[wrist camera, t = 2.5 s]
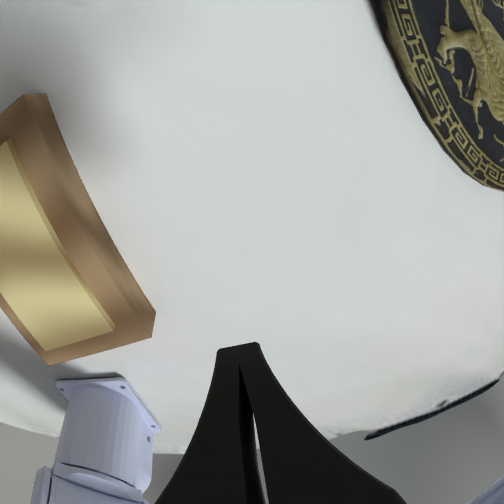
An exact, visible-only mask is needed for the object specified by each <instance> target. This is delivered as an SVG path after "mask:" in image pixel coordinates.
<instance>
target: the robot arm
mask: <svg viewBox="0 0 504 504" xmlns="http://www.w3.org/2000/svg"><path fill="white" fill-rule="evenodd" d="M55 386H56V387H57V389H58V390H59V391H60V392H61V393H62V394H63V396H64V397H65V398H66V399H67V400H68V401H69V404H68V407H67V411H66V414H65V418H64V422H63V426H62V430H61V434H60V438H59V442H58V447H57V451H56V455H55V460H54V465H53V467H52V468H51V469H50V468H48V467H46V466H44V467H43V468H40V469H38V470H37V473H36V477H35V481H34V486H33V492H32V498H31V504H149V502H148V501H147V500H144V499H142V493H143V492H144V491H145V490H146V489H147V487H148V486H149V484H150V481H151V477H152V451H153V433H160V432H161V431H162V428H161V427H160V426H159V424H158V423H157V422H156V421H155V419H154V418H153V417H152V416H151V414H150V413H149V412H148V410H147V409H146V408H145V406H144V405H143V404H142V402H141V401H140V400H139V398H138V397H137V396H136V394H135V393H134V391H133V390H132V389H131V387H130V386H129V384H128V383H127V382H126V380H125V379H123V378H121V377H116V378H102V379H85V380H58V381H56V382H55ZM253 414H254V418H255V423H256V427H257V434H258V440H259V446H260V452H261V458H262V464H263V470H264V476H265V482H266V488H267V495H268V500H269V504H406V502H405V501H404V500H403V498H402V497H401V496H400V495H399V494H398V493H397V492H396V491H395V490H394V489H393V488H391V487H389V486H388V485H386V484H384V483H383V482H381V481H379V480H378V479H376V478H375V477H373V476H372V475H370V474H369V473H367V472H366V471H365V470H363V469H362V468H361V467H359V466H358V465H356V464H355V463H353V462H352V461H351V460H350V459H349V458H348V457H346V456H345V455H344V454H343V453H342V452H340V451H339V450H338V449H337V448H336V447H334V446H333V445H332V444H331V443H330V442H329V441H328V440H327V439H326V438H325V437H324V436H323V435H322V434H321V433H320V432H319V431H318V430H317V429H316V428H315V427H314V426H313V425H312V424H311V423H310V422H309V421H308V420H307V418H306V417H305V416H304V415H303V414H302V413H301V412H300V410H299V409H298V408H297V407H296V405H295V404H294V403H293V402H292V400H291V399H290V398H289V396H288V395H287V394H286V392H285V391H284V389H283V388H282V386H281V385H280V383H279V382H278V380H277V379H276V377H275V376H274V374H273V373H272V371H271V369H270V367H269V365H268V364H267V362H266V360H265V358H264V355H263V353H262V351H261V348H260V345H259V343H257V342H252V343H247V344H242V345H237V346H232V347H227V348H221V349H219V350H218V351H217V355H216V362H215V368H214V372H213V377H212V381H211V385H210V388H209V392H208V395H207V399H206V402H205V405H204V408H203V411H202V414H201V417H200V419H199V422H198V425H197V428H196V430H195V432H194V435H193V437H192V439H191V442H190V444H189V446H188V448H187V450H186V452H185V454H184V457H183V458H182V460H181V462H180V464H179V466H178V468H177V470H176V471H175V473H174V475H173V477H172V478H171V480H170V481H169V483H168V485H167V486H166V488H165V489H164V491H163V492H162V494H161V495H160V497H159V498H158V499H157V501H156V503H155V504H266V503H265V499H264V494H263V490H262V485H261V480H260V475H259V470H258V463H257V454H256V442H255V430H254V419H253ZM467 504H504V475H503V476H502V477H501V478H500V479H498V480H497V481H496V482H495V483H494V484H492V486H491V487H490V488H488V489H487V490H486V491H484V492H483V493H481V494H480V495H479V496H477V497H476V498H474V499H473V500H471V501H470V502H468V503H467Z"/></svg>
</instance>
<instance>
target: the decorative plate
mask: <svg viewBox="0 0 504 504" xmlns="http://www.w3.org/2000/svg"><path fill="white" fill-rule="evenodd" d="M370 1H371V4H372V7H373V9H374V12H375V15H376V18H377V21H378V24H379V27H380V30H381V33H382V36H383V39H384V42H385V44H386V46H387V48H388V50H389V52H390V55H391V57H392V59H393V61H394V64H395V66H396V68H397V71H398V73H399V75H400V78H401V80H402V83H403V84H404V86H405V88H406V90H407V91H408V93H409V95H410V97H411V99H412V100H413V102H414V104H415V106H416V108H417V110H418V112H419V114H420V116H421V118H422V120H423V121H424V123H425V124H426V125H427V127H428V128H429V130H430V131H431V133H432V134H433V136H434V137H435V138H436V140H437V141H438V143H439V144H440V146H441V148H442V149H443V151H444V152H445V153H446V154H447V155H448V156H449V157H450V158H451V159H452V160H453V161H454V162H455V163H456V164H457V166H458V167H459V168H460V169H461V170H462V171H463V172H464V173H465V174H467V175H468V176H470V177H471V178H473V179H474V180H476V181H477V182H479V183H480V184H481V185H484V186H487V187H490V188H493V189H496V190H500V191H503V192H504V0H370Z"/></svg>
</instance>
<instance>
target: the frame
mask: <svg viewBox="0 0 504 504" xmlns="http://www.w3.org/2000/svg"><path fill="white" fill-rule="evenodd" d="M0 307H1V309H2V310H3V311H4V313H5V314H6V315H7V317H8V318H9V319H10V321H11V322H12V323H13V325H14V326H15V327H16V329H17V330H18V331H19V332H20V334H21V335H22V336H23V337H24V338H25V340H26V341H27V342H28V343H29V344H30V346H31V347H32V348H33V349H34V350H35V351H36V353H37V354H38V355H39V356H40V357H41V358H42V359H43V360H44V361H45V363H46V364H47V365H48V366H49V365H53V364H57V363H61V362H65V361H69V360H73V359H77V358H81V357H84V356H88V355H92V354H95V353H99V352H103V351H106V350H110V349H113V348H117V347H120V346H124V345H127V344H131V343H134V342H138V341H141V340H144V339H148V338H151V337H152V332H153V326H154V320H155V315H156V311H155V310H154V308H153V307H152V305H151V304H150V302H149V301H148V299H147V298H146V296H145V294H144V293H143V291H142V290H141V288H140V286H139V285H138V283H137V282H136V280H135V278H134V277H133V275H132V273H131V272H130V270H129V268H128V267H127V265H126V263H125V261H124V260H123V258H122V256H121V255H120V253H119V251H118V249H117V248H116V246H115V244H114V242H113V240H112V239H111V237H110V235H109V233H108V231H107V229H106V228H105V226H104V224H103V222H102V220H101V218H100V216H99V214H98V212H97V211H96V209H95V207H94V205H93V203H92V201H91V199H90V197H89V195H88V193H87V191H86V188H85V186H84V184H83V182H82V180H81V178H80V176H79V174H78V172H77V169H76V167H75V165H74V163H73V160H72V158H71V156H70V154H69V151H68V149H67V147H66V144H65V142H64V140H63V137H62V135H61V132H60V130H59V127H58V125H57V122H56V120H55V117H54V114H53V112H52V109H51V106H50V104H49V101H48V98H47V95H46V94H25V95H22V96H21V97H20V98H19V99H17V100H16V101H15V102H14V103H13V104H11V105H10V106H9V107H8V108H7V109H6V110H4V111H3V112H2V113H1V114H0Z"/></svg>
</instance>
